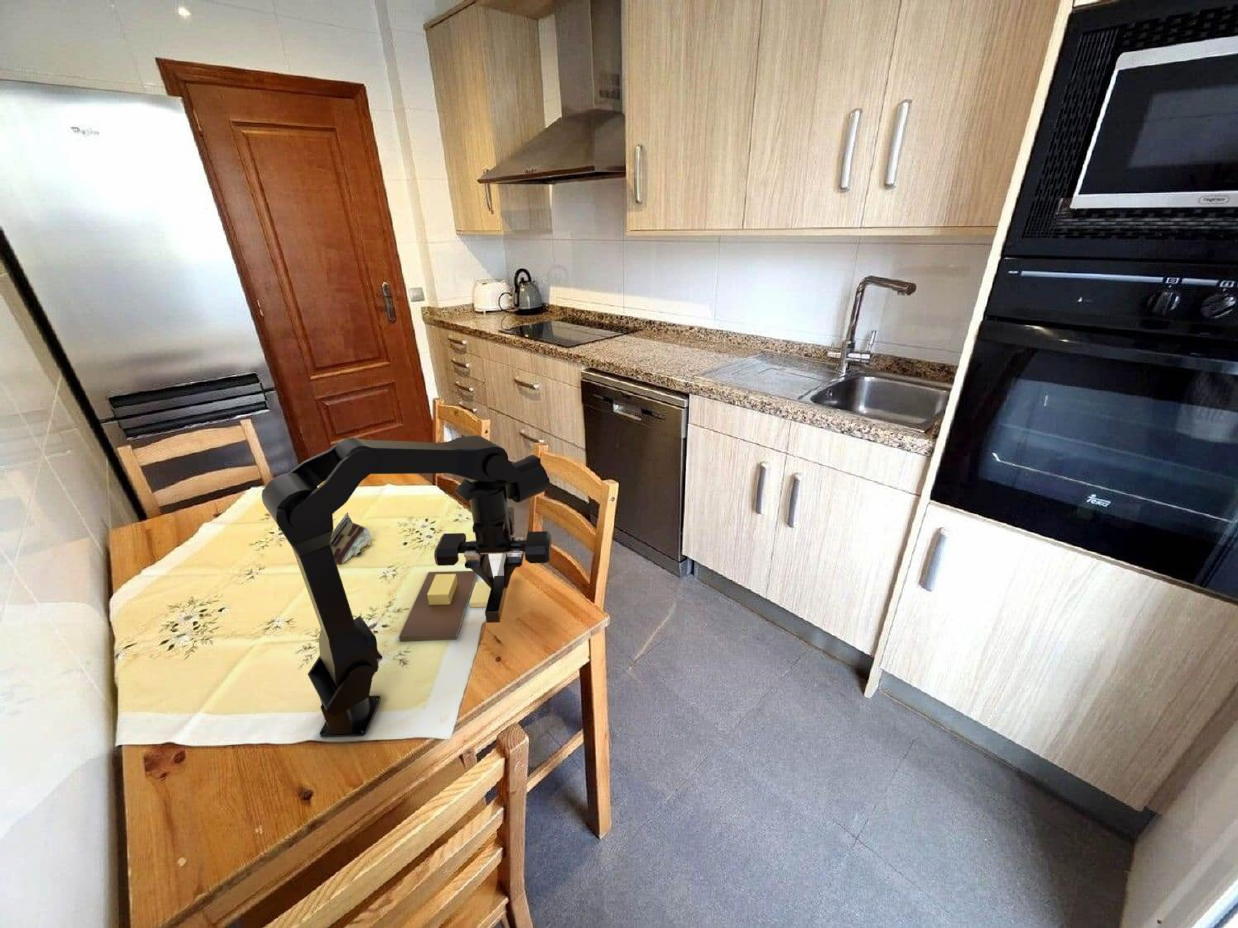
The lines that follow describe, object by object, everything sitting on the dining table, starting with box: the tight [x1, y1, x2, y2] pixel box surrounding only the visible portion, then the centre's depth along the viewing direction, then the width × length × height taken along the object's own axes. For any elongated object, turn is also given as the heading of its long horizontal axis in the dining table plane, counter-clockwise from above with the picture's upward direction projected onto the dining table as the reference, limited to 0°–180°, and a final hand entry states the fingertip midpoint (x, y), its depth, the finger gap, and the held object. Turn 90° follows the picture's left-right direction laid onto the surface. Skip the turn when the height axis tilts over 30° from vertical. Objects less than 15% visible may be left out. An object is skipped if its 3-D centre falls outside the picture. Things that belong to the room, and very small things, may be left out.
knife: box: [484, 553, 511, 624], centre depth 91 cm, size 21×2×2 cm, turn 3°
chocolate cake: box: [331, 512, 372, 565], centre depth 112 cm, size 10×7×12 cm
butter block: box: [427, 574, 458, 605], centre depth 98 cm, size 6×4×2 cm, turn 3°
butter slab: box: [468, 581, 491, 608], centre depth 99 cm, size 6×4×1 cm, turn 3°
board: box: [398, 570, 478, 642], centre depth 97 cm, size 18×10×1 cm, turn 3°
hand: (499, 586), depth 89 cm, fingers closed on knife, 2 cm apart
